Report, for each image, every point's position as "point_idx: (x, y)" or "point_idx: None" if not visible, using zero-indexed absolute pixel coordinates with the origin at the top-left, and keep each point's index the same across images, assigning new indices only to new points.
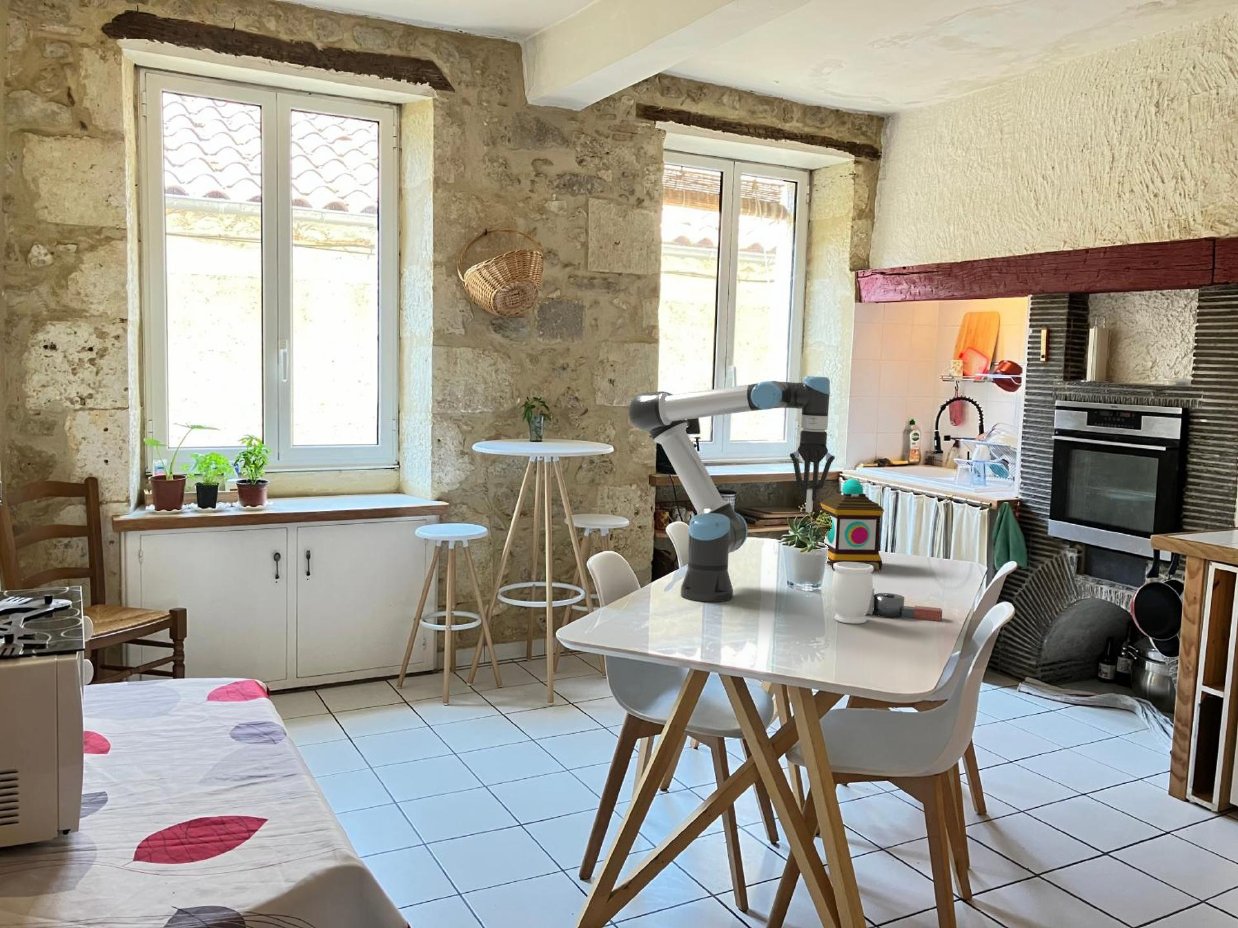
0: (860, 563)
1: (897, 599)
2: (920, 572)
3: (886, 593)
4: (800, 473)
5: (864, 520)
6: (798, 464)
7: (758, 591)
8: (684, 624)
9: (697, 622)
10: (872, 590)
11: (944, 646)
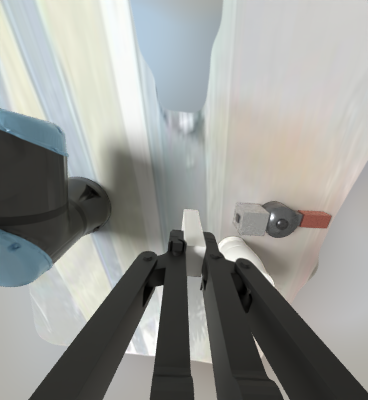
0: (261, 272)
1: (287, 234)
2: None
3: (280, 222)
4: (132, 309)
5: None
6: (92, 396)
7: (129, 159)
8: (101, 298)
9: (108, 291)
10: (265, 223)
11: (294, 293)
